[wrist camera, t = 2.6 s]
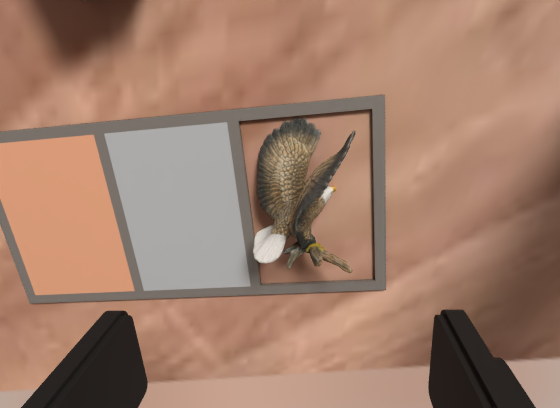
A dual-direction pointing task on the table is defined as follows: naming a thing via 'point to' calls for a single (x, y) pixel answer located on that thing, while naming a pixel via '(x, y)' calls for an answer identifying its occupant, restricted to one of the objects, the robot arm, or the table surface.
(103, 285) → the board
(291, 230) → the eagle figurine
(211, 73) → the table surface
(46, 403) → the robot arm
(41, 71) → the table surface
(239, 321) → the table surface
